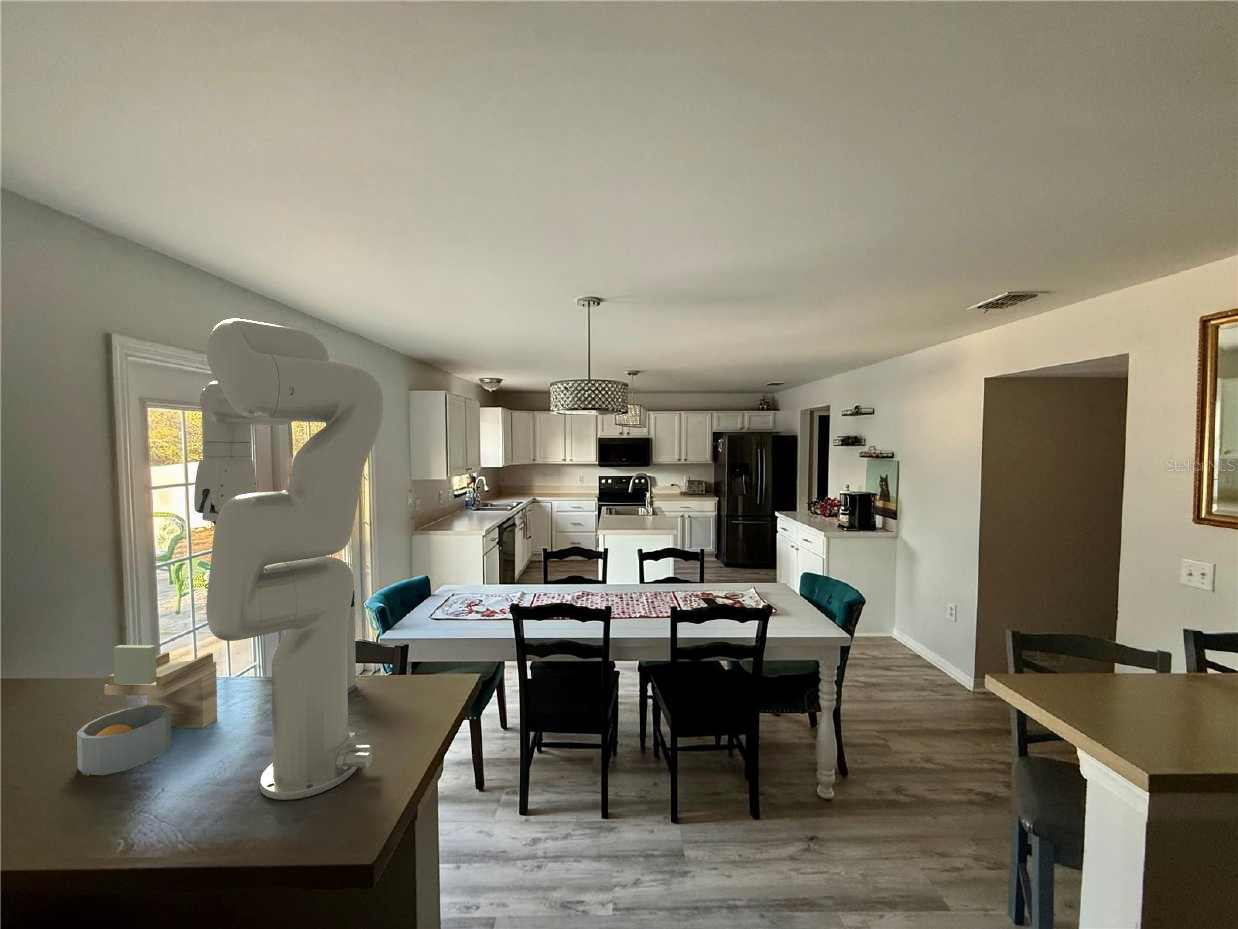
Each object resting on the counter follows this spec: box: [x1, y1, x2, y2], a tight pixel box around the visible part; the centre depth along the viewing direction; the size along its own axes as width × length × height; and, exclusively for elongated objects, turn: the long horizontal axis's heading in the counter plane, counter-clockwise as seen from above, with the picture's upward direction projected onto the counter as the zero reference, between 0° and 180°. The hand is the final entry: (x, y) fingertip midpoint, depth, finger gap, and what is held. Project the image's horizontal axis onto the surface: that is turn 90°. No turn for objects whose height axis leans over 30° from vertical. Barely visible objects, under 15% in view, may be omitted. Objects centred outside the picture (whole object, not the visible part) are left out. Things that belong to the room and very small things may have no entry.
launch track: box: [103, 651, 218, 729], centre depth 88 cm, size 10×10×12 cm
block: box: [113, 644, 157, 684], centre depth 83 cm, size 6×2×6 cm, turn 88°
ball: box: [96, 724, 133, 736], centre depth 79 cm, size 5×5×5 cm
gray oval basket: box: [76, 704, 172, 776], centre depth 81 cm, size 10×10×6 cm
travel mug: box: [347, 589, 357, 694], centre depth 104 cm, size 6×7×20 cm
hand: (229, 548), depth 99 cm, fingers closed
